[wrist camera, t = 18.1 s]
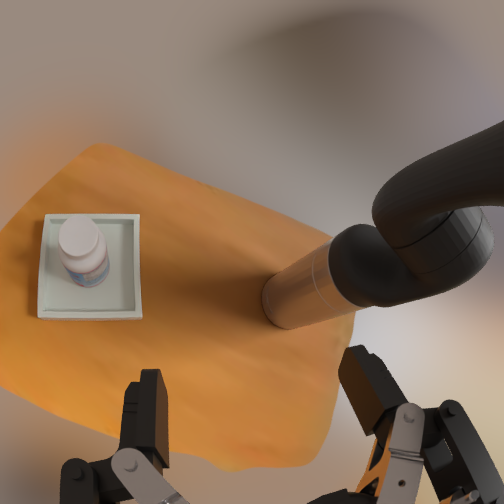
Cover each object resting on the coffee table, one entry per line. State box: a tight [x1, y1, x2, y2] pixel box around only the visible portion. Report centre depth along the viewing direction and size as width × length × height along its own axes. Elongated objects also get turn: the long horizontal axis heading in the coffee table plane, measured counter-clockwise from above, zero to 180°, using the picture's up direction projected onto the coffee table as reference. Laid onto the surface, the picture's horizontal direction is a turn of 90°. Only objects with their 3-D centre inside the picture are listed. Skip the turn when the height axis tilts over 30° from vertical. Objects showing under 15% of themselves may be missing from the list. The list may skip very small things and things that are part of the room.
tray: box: [38, 214, 142, 321], centre depth 35 cm, size 15×15×2 cm
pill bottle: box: [58, 215, 110, 288], centre depth 31 cm, size 6×6×11 cm
